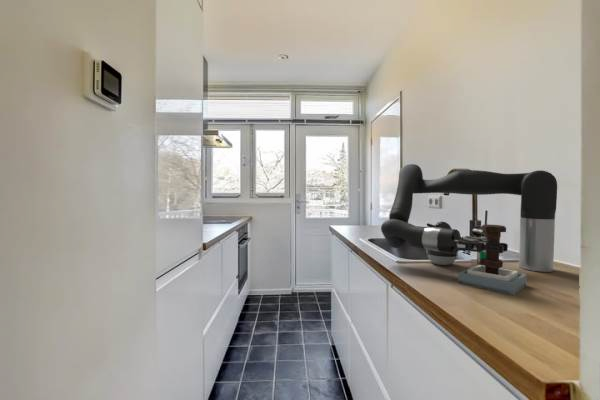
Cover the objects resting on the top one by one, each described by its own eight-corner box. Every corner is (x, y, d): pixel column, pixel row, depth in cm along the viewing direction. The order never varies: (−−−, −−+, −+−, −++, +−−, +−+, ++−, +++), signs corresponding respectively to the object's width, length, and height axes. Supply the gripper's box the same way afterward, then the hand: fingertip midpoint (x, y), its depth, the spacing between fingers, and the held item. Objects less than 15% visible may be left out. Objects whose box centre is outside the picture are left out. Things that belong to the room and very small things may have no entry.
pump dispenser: (422, 259, 115) (423, 219, 114) (451, 261, 113) (453, 220, 112) (429, 266, 105) (430, 222, 104) (461, 267, 103) (462, 223, 102)
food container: (502, 275, 94) (503, 243, 94) (480, 272, 97) (480, 241, 96) (496, 266, 105) (497, 238, 105) (476, 264, 108) (477, 236, 108)
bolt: (506, 282, 81) (508, 227, 81) (485, 281, 82) (488, 226, 82) (496, 276, 87) (499, 224, 86) (477, 275, 88) (479, 223, 87)
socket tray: (474, 275, 94) (475, 263, 94) (526, 285, 84) (526, 271, 84) (458, 283, 85) (458, 269, 85) (513, 295, 75) (513, 280, 75)
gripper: (449, 249, 100) (511, 258, 87) (430, 254, 90) (496, 266, 77) (450, 226, 99) (513, 232, 87) (431, 229, 90) (497, 237, 77)
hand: (504, 248), depth 82 cm, fingers closed on bolt, 3 cm apart
